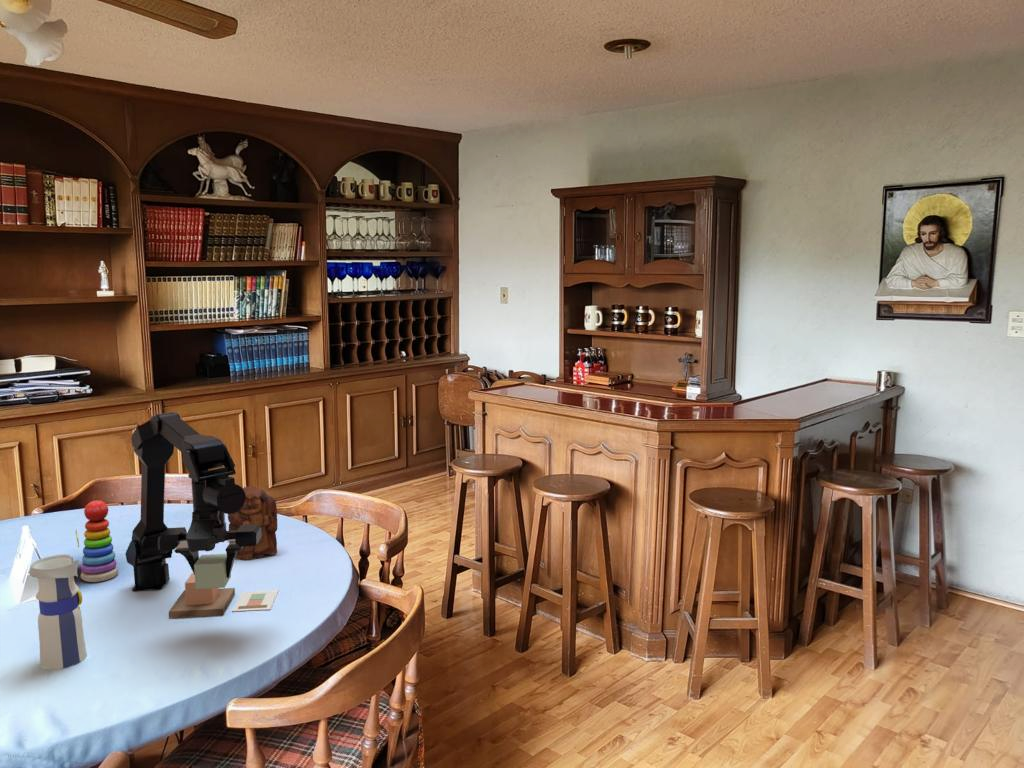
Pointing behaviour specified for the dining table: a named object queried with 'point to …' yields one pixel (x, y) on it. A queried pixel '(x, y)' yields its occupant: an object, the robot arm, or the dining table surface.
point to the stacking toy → (97, 545)
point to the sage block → (211, 571)
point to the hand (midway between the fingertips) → (213, 577)
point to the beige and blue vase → (59, 612)
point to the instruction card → (255, 601)
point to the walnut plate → (202, 605)
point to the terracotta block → (199, 593)
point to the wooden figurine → (259, 512)
